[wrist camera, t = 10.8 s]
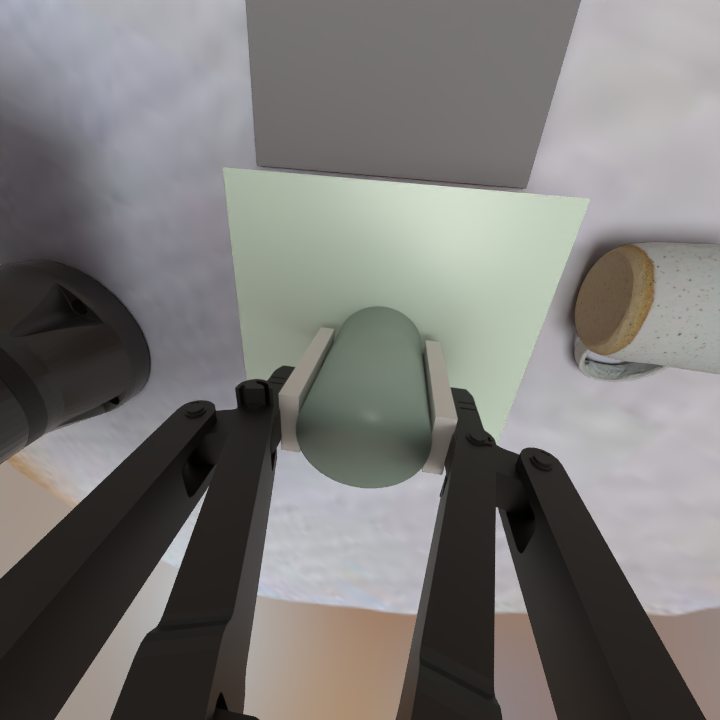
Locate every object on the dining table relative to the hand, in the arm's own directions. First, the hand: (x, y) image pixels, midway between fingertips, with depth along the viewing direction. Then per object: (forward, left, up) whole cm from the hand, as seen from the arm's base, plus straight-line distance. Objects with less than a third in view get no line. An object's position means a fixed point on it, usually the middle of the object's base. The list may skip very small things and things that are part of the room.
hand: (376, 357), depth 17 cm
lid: (0, 0, -2) cm, 2 cm away
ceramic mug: (+18, +2, -10) cm, 20 cm away
